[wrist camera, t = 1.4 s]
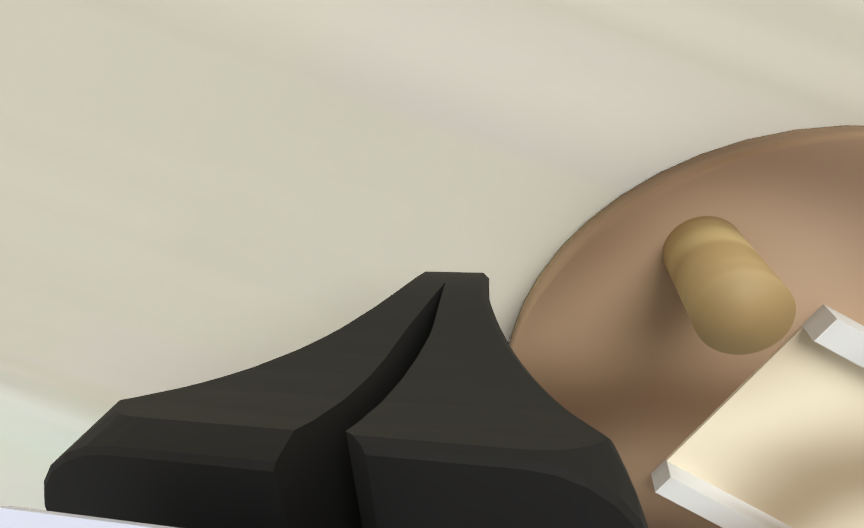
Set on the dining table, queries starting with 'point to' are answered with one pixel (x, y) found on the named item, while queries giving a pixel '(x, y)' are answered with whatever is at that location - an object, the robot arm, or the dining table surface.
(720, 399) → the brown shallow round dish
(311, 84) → the dining table surface
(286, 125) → the dining table surface
